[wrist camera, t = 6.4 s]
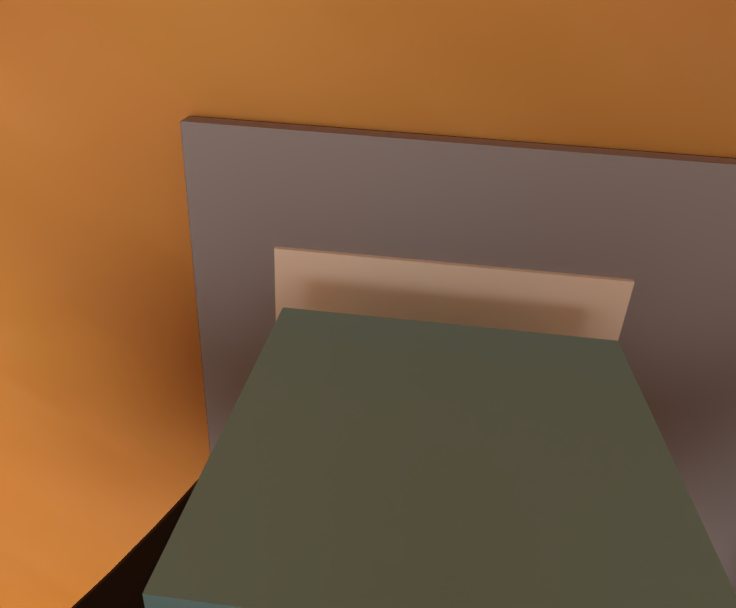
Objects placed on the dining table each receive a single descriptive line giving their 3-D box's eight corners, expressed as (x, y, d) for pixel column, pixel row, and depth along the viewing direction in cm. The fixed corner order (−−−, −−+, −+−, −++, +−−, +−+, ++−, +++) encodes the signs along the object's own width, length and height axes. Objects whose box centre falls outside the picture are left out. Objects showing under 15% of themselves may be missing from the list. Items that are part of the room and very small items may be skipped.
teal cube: (617, 340, 9) (776, 680, 5) (552, 571, 12) (617, 939, 7) (282, 307, 10) (143, 593, 5) (286, 536, 12) (192, 868, 7)
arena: (1039, 182, 9) (1401, 310, 6) (718, 737, 16) (792, 946, 13) (189, 116, 10) (54, 190, 7) (235, 667, 17) (180, 843, 14)
